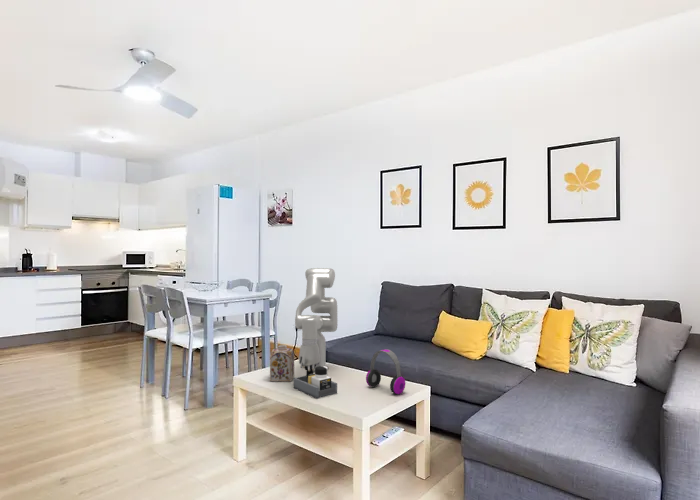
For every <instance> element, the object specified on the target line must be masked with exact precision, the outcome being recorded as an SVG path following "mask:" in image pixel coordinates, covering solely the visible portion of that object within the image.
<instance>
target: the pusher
mask: <svg viewBox="0 0 700 500" xmlns="http://www.w3.org/2000/svg"><path fill="white" fill-rule="evenodd" d="M313 376H315V372H313V374H309V376H308V383H309V384H311V377H313Z"/></svg>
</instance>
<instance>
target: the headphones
mask: <svg viewBox="0 0 700 500" xmlns="http://www.w3.org/2000/svg"><path fill="white" fill-rule="evenodd" d="M381 353H384V354H385V355H387V356H388V357H389V358H390V359H391V361H392V362H393V364H394V366H395V370H396V375H395V376H393V377H392V379H391V381H390V384H389V390H390V391H391V392H392V393H393V394H396V395H400V394H402V393H403V392H404V390H405V388H406V383H407V382H406V379H405V377H403V376H402V374H401V370H402V369H401V365H400V361H399V359H398V356H397V354H396V353H395V352H393V351H392V350H391V349H388V348H387V349H381V350H378V351H376V352H374V354H373V355H372V357H371V362H370V370H368V371H367V373H366V375H365V376H366V377H365V382H366V384H367V385H368V386H369V387H371V388H376V387H378V386H379V385H380V384H381V380H382V378H381V377H382V376H381V375H382V374H381V372H380V371H379V370H378V369H375V364H376V360H377V358H378V356H379V355H380V354H381Z"/></svg>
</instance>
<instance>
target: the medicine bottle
mask: <svg viewBox="0 0 700 500" xmlns="http://www.w3.org/2000/svg"><path fill="white" fill-rule="evenodd" d="M328 370H329V367H328V368H327V367H325V366H318V367H316V368H315V372H314V374H315V376H313V377H311V385H314V386H316V387H318V388H319V391H321V390H325V389H329V388H331V381H332V377H331V376H329V374H328V372H329V371H328Z"/></svg>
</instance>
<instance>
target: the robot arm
mask: <svg viewBox="0 0 700 500" xmlns="http://www.w3.org/2000/svg"><path fill="white" fill-rule="evenodd" d="M305 279H306V290H305V297H304V298H303V300H301V302H300V303H299V304H298V305H297V308H296V310H295V317H294V325H295V328H296V329H297V330H302V331H301V334H302V335H301V338H302V340H301V343H302V344H300V347H299V354H298V365H299V368H300V369H304V370H305V374H306V375H305V376H307V378H308V376H309V374H313V373H315V368H316V367H318V366H325V367H327V368H328V369H329V366H328V365H327V364H326V338H325V335H323V333H334V332H336V331H337V330H338V301H337V298H336V297H332V296H329V297H328V296H326V295H325V294H326V291H325V289H330V288H333V285H334V283H335V279H336V272H335V270H334V269H333V268H330V267H329V268H327V267H326V268H324V267H323V268H322V267H321V268H320V267H317V268H314V267H313V268H308V269H306V270H305ZM309 307H310V311H311V313H313V314H303V311H304V310H305V309H307V308H309ZM315 314H329V315H315Z"/></svg>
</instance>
